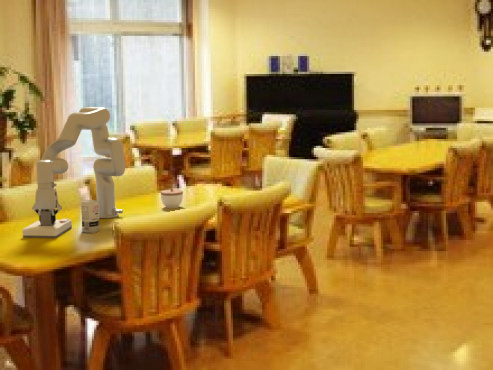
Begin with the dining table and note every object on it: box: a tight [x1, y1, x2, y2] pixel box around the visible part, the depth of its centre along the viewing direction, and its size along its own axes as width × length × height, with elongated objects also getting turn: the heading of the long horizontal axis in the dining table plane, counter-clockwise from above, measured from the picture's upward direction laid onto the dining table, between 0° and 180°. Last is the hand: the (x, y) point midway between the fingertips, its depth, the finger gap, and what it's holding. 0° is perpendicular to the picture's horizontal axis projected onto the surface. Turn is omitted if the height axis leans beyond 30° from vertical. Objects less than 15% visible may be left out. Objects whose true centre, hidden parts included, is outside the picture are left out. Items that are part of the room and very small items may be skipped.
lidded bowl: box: [160, 187, 184, 209], centre depth 411 cm, size 13×13×11 cm
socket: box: [21, 218, 73, 239], centre depth 349 cm, size 16×22×5 cm
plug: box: [40, 210, 55, 226], centre depth 348 cm, size 5×5×10 cm
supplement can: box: [80, 199, 100, 234], centre depth 350 cm, size 8×8×15 cm
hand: (47, 222), depth 349 cm, fingers closed on plug, 4 cm apart
